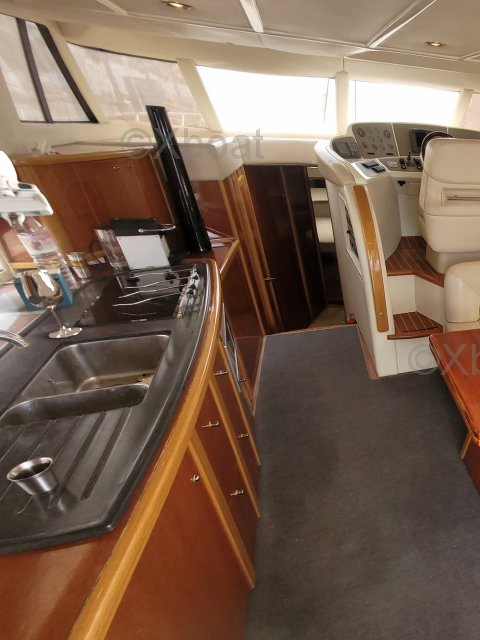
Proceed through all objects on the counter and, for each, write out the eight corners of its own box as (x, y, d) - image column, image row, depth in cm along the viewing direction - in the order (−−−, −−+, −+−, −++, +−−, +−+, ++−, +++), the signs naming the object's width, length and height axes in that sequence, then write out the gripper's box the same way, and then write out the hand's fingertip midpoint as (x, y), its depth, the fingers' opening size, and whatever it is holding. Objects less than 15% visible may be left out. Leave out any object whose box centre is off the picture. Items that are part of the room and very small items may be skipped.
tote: (31, 300, 143) (16, 272, 138) (72, 294, 150) (59, 268, 144) (29, 311, 135) (13, 283, 130) (72, 305, 141) (58, 277, 136)
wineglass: (49, 341, 119) (14, 278, 109) (47, 332, 123) (12, 271, 113) (84, 333, 124) (53, 273, 114) (80, 325, 128) (50, 266, 118)
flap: (17, 274, 138) (16, 272, 138) (59, 269, 145) (59, 268, 144) (16, 279, 134) (15, 278, 134) (59, 274, 141) (59, 273, 140)
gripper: (-47, 186, 127) (-35, 222, 126) (41, 185, 139) (53, 218, 138) (-37, 199, 132) (-24, 234, 131) (48, 196, 144) (60, 228, 143)
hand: (16, 225), depth 135 cm, fingers closed
